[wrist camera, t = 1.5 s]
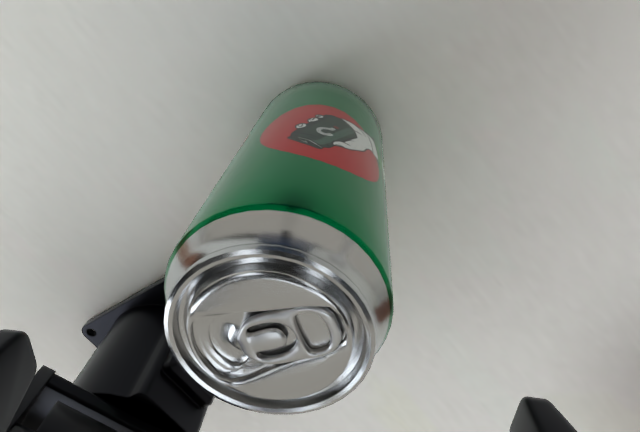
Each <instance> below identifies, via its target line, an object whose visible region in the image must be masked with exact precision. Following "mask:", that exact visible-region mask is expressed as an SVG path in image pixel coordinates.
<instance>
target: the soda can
mask: <svg viewBox="0 0 640 432" xmlns="http://www.w3.org/2000/svg"><path fill="white" fill-rule="evenodd" d="M164 292H165V302H166V306H165V315H164V329H165V336H166V339H167V342H168V346H169V348H170V350H171V352H172V354H173V356H174V358H175V360H176V361H177V363H178V364H179V366H180V367H181V368H182V370H183V371H184V372H185V373H186V374H187V375H188V376H189V377H190V378H191V379H192V380H193V381H194V382H195V383H196V384H197V385H199V386H200V387H201V388H202V389H204V390H205V391H207V392H208V393H210V394H212V395H213V396H215V397H216V398H218V399H220V400H223V401H225V402H227V403H229V404H231V405H234V406H237V407H240V408H243V409H246V410H251V411H255V412H259V413H268V414H298V413H306V412H310V411H314V410H318V409H321V408H324V407H326V406H329V405H332V404H333V403H335V402H337V401H339V400H341V399H342V398H344V397H345V396H347V395H348V394H349V393H351V392H352V391H353V390H354V389H355V388H356V387H357V386H358V385H359V384H360V383H361V382H362V381H363V379H364V377H365V376H366V374H367V373H368V371H369V369H370V367H371V364H372V362H373V359H374V356H375V354H376V353H377V352H378V351H379V349H380V348H381V346H382V344H383V343H384V341H385V340H386V337H387V335H388V332H389V329H390V327H391V322H392V316H393V291H392V277H391V262H390V248H389V233H388V219H387V204H386V190H385V175H384V161H383V146H382V135H381V130H380V126H379V124H378V121H377V119H376V117H375V115H374V114H373V112H372V110H371V109H370V108H369V106H368V105H367V104H366V103H365V102H364V101H363V100H362V99H361V98H360V97H359V96H357V95H356V94H354V93H353V92H351V91H350V90H348V89H346V88H343V87H341V86H339V85H335V84H331V83H324V82H311V83H304V84H300V85H296V86H294V87H292V88H289V89H287V90H286V91H284V92H282V93H281V94H279V95H278V96H277V97H276V98H275V99H274V100H273V101H271V103H270V104H269V105H268V107H267V108H266V109H265V111H264V112H263V114H262V115H261V117H260V118H259V120H258V121H257V123H256V124H255V126H254V127H253V129H252V131H251V132H250V134H249V135H248V137H247V138H246V140H245V141H244V143H243V144H242V146H241V147H240V149H239V150H238V152H237V154H236V155H235V157H234V158H233V160H232V161H231V163H230V164H229V166H228V167H227V169H226V170H225V172H224V173H223V175H222V177H221V178H220V180H219V181H218V183H217V184H216V186H215V187H214V189H213V190H212V192H211V193H210V195H209V196H208V198H207V200H206V201H205V203H204V204H203V206H202V207H201V209H200V210H199V212H198V213H197V215H196V216H195V218H194V219H193V221H192V223H191V224H190V226H189V227H188V229H187V230H186V232H185V233H184V235H183V236H182V238H181V239H180V241H179V242H178V244H177V246H176V247H175V249H174V251H173V253H172V255H171V257H170V259H169V262H168V266H167V269H166V272H165V282H164Z"/></svg>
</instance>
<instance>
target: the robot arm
mask: <svg viewBox="0 0 640 432" xmlns="http://www.w3.org/2000/svg"><path fill="white" fill-rule="evenodd" d="M164 282H165V277H164V278H163V279H161V280H159V281H157V282H156V283H154V284H152V285H150V286H149V287H147V288H145V289H143V290H142V291H140V292H138V293H136V294H135V295H133V296H131V297H129V298H128V299H126V300H124V301H122V302H121V303H119V304H117V305H115V306H114V307H112V308H110V309H108V310H107V311H105V312H103V313H101V314H100V315H98V316H96V317H94V318H93V319H91V320H89V321H88V322H87V323H86V324H85V325H84V327H83V328H82V333H83V334H84V336H85V337H86V338H87V339H88V340H89V341H90V342H92V343H93V344H94V345H95V346H96V347H97V349H96V350H95V352H94V353H93V355H92V356H91V358H90V359H89V361H88V362H87V364H86V365H85V366H84V368H83V369H82V371H81V372H80V374H79V375H78V377H77V378H76V380H75V381H74V383H71V382H69V381H67V380H66V379H64V378H62V377H60V376H58V375H56V374H54V373H55V372H56V371H54V370H52V369H50V368H48V367H46V366H44V365H43V366H42V367H41V369H40V370H39V371H38V372H37V373H36V360H35V356H34V353H33V349H32V346H31V343H30V339H29V337H28V335H27V334H26V333H25V332H22V331H15V330H0V432H199V430H200V428H201V425H202V422H203V419H204V416H205V414H206V411H207V408H208V406H209V405H211V404H212V402H213V399H214V396H213V395H212V394H210V393H208V392H207V391H205V390H204V389H202V388H201V387H200V386H199V385H197V384H196V383H195V382H194V381H193V380H192V379H191V378H190V377H189V376H188V375H187V374H186V373H185V372H184V371H183V370H182V368H181V367H180V366H179V364H178V363H177V361H176V360H175V358H174V356H173V354H172V352H171V350H170V348H169V346H168V342H167V339H166V336H165V329H164V315H165V306H166V302H165V292H164ZM92 329H93V330H92ZM94 330H95V331H94ZM35 373H36V374H35ZM510 432H577V431H576V430H575V429H574V427H573V426H572V425H571V424H570V423H569V422H568V421H567V420H566V419H565V418H564V416H563V415H562V414H561V413H560V412H559V411H558V410H557V409H556V408H555V406H554V405H553V404H552V403H551V402H549V401H548V400H546V399H541V398H533V397H524V398H523V399H522V400H521V401H520V403H519V406H518V409H517V411H516V414H515V416H514V419H513V421H512V424H511V427H510Z"/></svg>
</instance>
